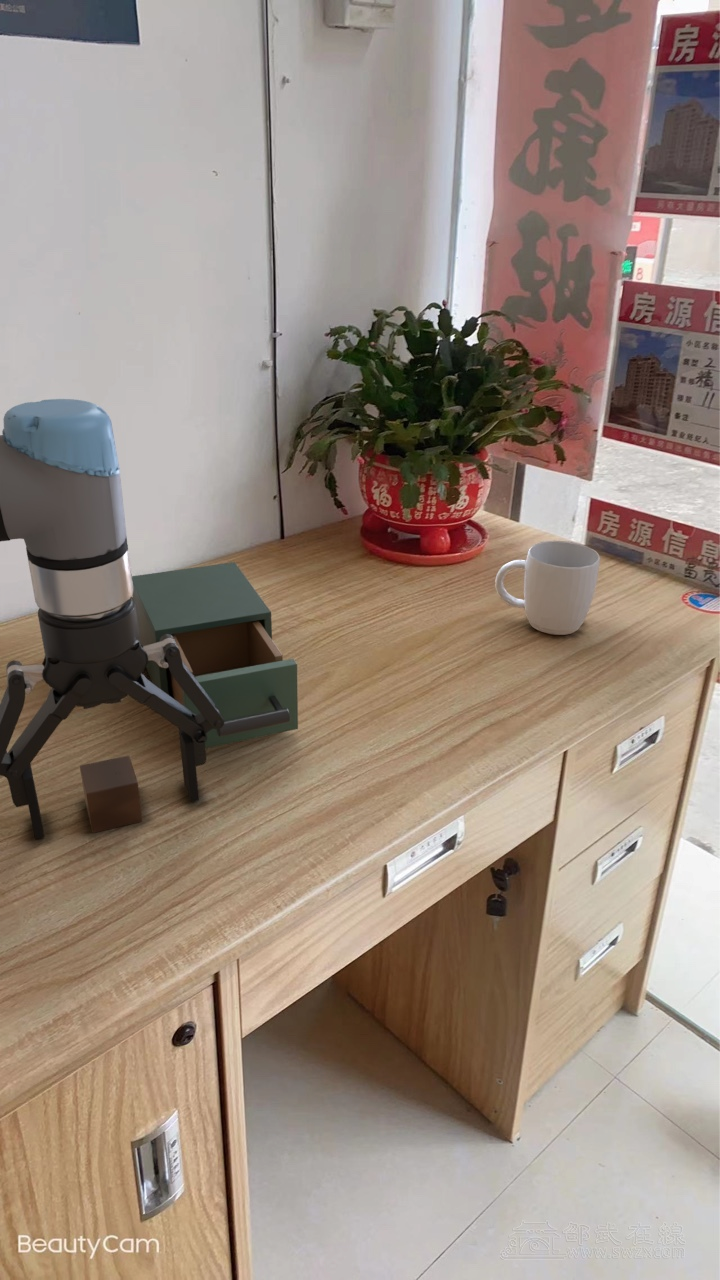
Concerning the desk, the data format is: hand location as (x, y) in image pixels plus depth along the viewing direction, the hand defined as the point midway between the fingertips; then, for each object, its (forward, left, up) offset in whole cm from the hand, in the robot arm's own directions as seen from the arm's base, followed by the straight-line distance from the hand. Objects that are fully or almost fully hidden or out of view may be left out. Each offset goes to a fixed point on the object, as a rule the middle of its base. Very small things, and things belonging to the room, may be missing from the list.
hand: (117, 811), depth 80 cm
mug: (+58, +19, 0) cm, 61 cm away
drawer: (+14, +10, +1) cm, 17 cm away
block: (0, 0, 0) cm, 0 cm away
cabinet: (+14, +23, 0) cm, 27 cm away
